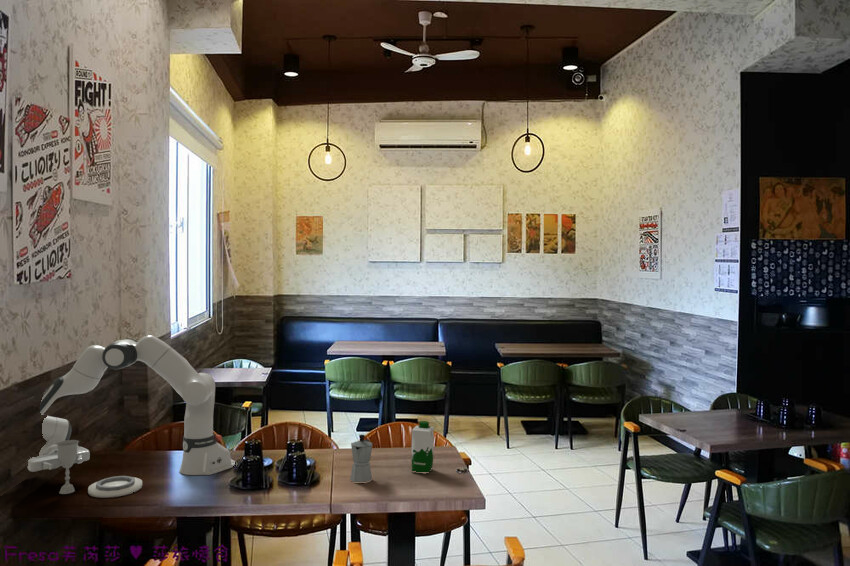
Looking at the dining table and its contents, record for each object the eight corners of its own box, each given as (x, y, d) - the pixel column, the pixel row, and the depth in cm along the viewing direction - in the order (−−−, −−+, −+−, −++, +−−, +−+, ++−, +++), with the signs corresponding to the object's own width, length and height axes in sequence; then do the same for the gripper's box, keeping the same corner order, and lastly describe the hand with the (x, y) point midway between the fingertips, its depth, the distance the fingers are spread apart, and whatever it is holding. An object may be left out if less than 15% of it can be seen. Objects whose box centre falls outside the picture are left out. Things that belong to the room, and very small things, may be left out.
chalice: (74, 486, 229) (74, 438, 229) (81, 491, 225) (82, 442, 225) (52, 491, 224) (53, 442, 224) (59, 496, 219) (60, 446, 219)
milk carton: (434, 468, 258) (435, 421, 258) (429, 475, 249) (430, 426, 249) (414, 467, 260) (415, 420, 260) (409, 473, 251) (409, 425, 251)
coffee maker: (367, 486, 235) (367, 439, 235) (345, 484, 237) (346, 438, 237) (377, 474, 250) (378, 430, 250) (357, 472, 252) (357, 428, 252)
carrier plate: (129, 477, 241) (129, 470, 241) (151, 488, 229) (151, 481, 229) (80, 489, 227) (80, 482, 227) (100, 501, 215) (100, 493, 215)
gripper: (21, 454, 226) (34, 461, 217) (81, 442, 242) (95, 449, 233) (21, 471, 226) (34, 479, 217) (81, 458, 242) (95, 466, 233)
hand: (66, 464), depth 225 cm, fingers open, 8 cm apart
